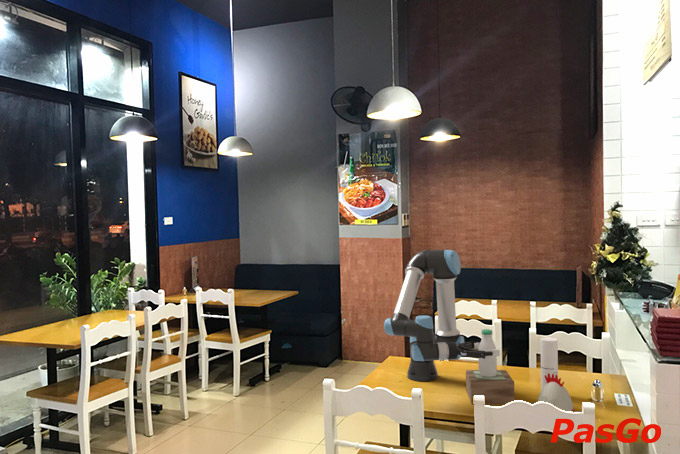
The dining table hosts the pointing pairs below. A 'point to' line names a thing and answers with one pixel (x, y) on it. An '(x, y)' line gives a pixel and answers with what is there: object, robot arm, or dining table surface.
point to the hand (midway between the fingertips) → (493, 348)
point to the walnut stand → (490, 387)
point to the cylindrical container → (548, 358)
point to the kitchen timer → (556, 394)
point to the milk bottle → (489, 363)
